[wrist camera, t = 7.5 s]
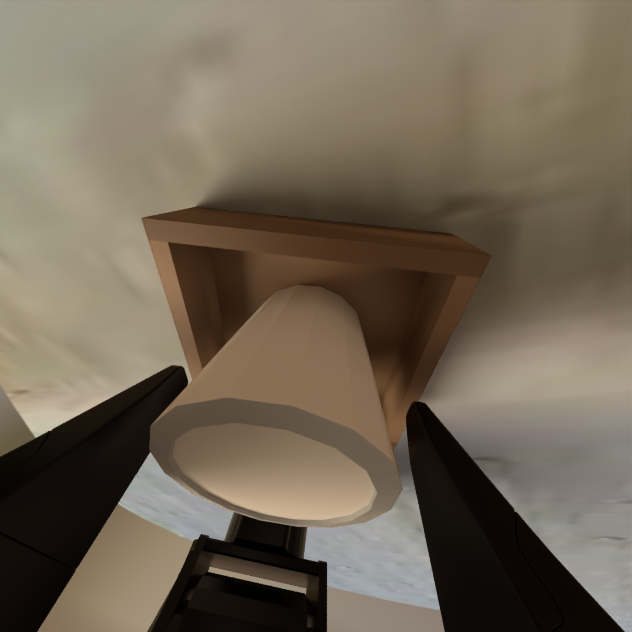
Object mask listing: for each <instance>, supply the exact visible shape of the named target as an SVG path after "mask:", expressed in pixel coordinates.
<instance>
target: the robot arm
mask: <svg viewBox="0 0 632 632" xmlns="http://www.w3.org/2000/svg"><path fill="white" fill-rule="evenodd" d="M187 385H188V379H187V376H186V373H185V370H184V368H183V367H182V366H176V365H172V366H169V367H167V368H166V369H164V370H162V371H160V372H158V373H156V374H154V375H152V376H151V377H149V378H147V379H145V380H143V381H141V382H139V383H138V384H136V385H134V386H132V387H130V388H128V389H126V390H125V391H123V392H121V393H119V394H117V395H115V396H113V397H111V398H110V399H108V400H106V401H104V402H102V403H100V404H98V405H97V406H95V407H93V408H91V409H89V410H87V411H85V412H84V413H82V414H80V415H78V416H76V417H74V418H72V419H70V420H69V421H67V422H65V423H63V424H61V425H59V426H57V427H56V428H54V429H52V431H48V432H46V433H44V434H42V435H41V436H39V437H37V438H35V439H33V440H31V441H29V442H27V443H25V444H24V445H22V446H20V447H18V448H16V449H14V450H12V451H10V452H8V453H6V454H4V455H2V456H0V632H37V631H38V629H39V628H40V626H41V625H42V623H43V622H44V620H45V619H46V617H47V615H48V614H49V612H50V610H51V609H52V607H53V606H54V604H55V603H56V601H57V599H58V597H59V596H60V595H61V593H62V592H63V590H64V588H65V587H66V585H67V583H68V582H69V580H70V579H71V577H72V576H73V574H74V573H75V571H76V568H77V567H78V566H79V564H80V563H81V561H82V559H83V558H84V556H85V555H86V553H87V552H88V550H89V548H90V547H91V545H92V544H93V542H94V540H95V539H96V537H97V536H98V534H99V532H100V531H101V529H102V528H103V526H104V525H105V523H106V521H107V520H108V518H109V517H110V515H111V513H112V512H113V510H114V509H115V507H116V505H117V504H118V502H119V501H120V499H121V498H122V496H123V494H124V493H125V491H126V490H127V488H128V486H129V485H130V483H131V482H132V480H133V479H134V477H135V475H136V474H137V472H138V471H139V469H140V467H141V466H142V464H143V463H144V461H145V459H146V458H147V456H148V455H149V453H150V450H149V444H150V426H151V425H152V424H153V423H154V422H155V420H156V419H157V418H158V417H159V416H160V415H161V414H162V413H163V412H164V411H165V410H166V408H167V407H168V406H169V405H170V404H171V403H172V402H173V401H174V400H175V399H176V398H177V397H178V395H179V394H180V393H181V392H182V391H183V390H184V389H185V388H186V387H187ZM406 427H407V437H408V447H409V457H410V464H411V470H412V475H413V480H414V485H415V489H416V494H417V499H418V504H419V509H420V514H421V518H422V523H423V528H424V533H425V538H426V543H427V548H428V552H429V557H430V562H431V567H432V572H433V577H434V581H435V586H436V591H437V596H438V601H439V606H440V611H441V615H442V620H443V625H444V630H445V632H625V631H624V630H623V629H622V628H621V627H620V626H619V625H618V624H617V623H616V622H615V621H614V620H613V619H612V618H611V616H610V615H609V614H608V613H607V612H606V611H605V610H604V609H603V608H602V607H601V606H600V605H599V604H598V603H597V601H596V600H595V599H594V598H593V597H592V596H591V595H590V594H589V593H588V592H587V591H586V590H585V589H584V588H583V586H582V585H581V584H580V583H579V582H578V581H577V580H576V579H575V578H574V577H573V576H572V574H571V573H570V572H569V571H568V570H567V569H566V568H565V567H564V566H563V565H562V564H561V562H560V561H559V560H558V559H557V558H556V557H555V556H554V555H553V554H552V553H551V551H550V550H549V549H548V548H547V547H546V546H545V544H544V543H543V542H542V541H541V540H540V539H539V537H538V536H537V535H536V534H535V533H534V532H533V531H532V529H531V528H530V527H529V526H528V525H527V524H526V522H525V521H524V520H523V519H522V518H521V516H520V515H519V514H518V513H517V512H515V511H514V508H513V507H512V506H511V505H510V503H509V502H508V501H507V500H506V499H505V497H504V496H503V495H502V494H501V493H500V492H499V490H498V489H497V488H496V487H495V486H494V484H493V483H492V482H491V481H490V480H489V478H488V477H487V476H486V475H485V474H484V473H483V471H482V470H481V469H480V468H479V467H478V465H477V464H476V463H475V462H474V461H473V459H472V458H471V457H470V456H469V455H468V453H467V452H466V451H465V450H464V449H463V448H462V446H461V445H460V444H459V443H458V442H457V440H456V439H455V438H454V437H453V436H452V434H451V433H450V432H449V431H448V430H447V428H446V427H445V426H444V425H443V424H442V423H441V421H440V420H439V419H438V418H437V417H436V415H435V414H434V413H433V412H432V411H431V409H430V408H429V407H428V406H427V405H426V404H425V403H423V402H417V401H413V402H412V403H411V405H410V408H409V410H408V412H407V414H406ZM306 533H307V527H297V526H291V525H285V524H279V523H274V522H268V521H262V520H258V519H255V518H252V517H248V516H245V515H242V514H239V513H236V512H234V514H233V516H232V519H231V522H230V525H229V528H228V531H227V534H226V537H225V540H224V541H221V540H217V539H212V538H209V536H208V535H203V534H201V535H200V537H199V539H197V540H194V541H193V544H192V546H191V548H190V551H189V554H188V556H187V558H186V560H185V563H184V565H183V567H182V569H181V572H180V573H179V575H178V577H177V580H176V581H175V583H174V585H173V587H172V589H171V590H170V592H169V594H168V596H167V598H166V599H165V601H164V603H163V605H162V606H161V608H160V610H159V612H158V614H157V616H156V617H155V619H154V621H153V623H152V624H151V626H150V628H149V630H148V632H327V562H324V561H320V560H319V561H318V562H315V561H311V560H306V559H304V550H305V542H306ZM209 567H214V568H218V569H223V570H227V571H232V572H236V573H241V574H245V575H250V576H255V577H259V578H263V579H268V580H272V581H277V582H281V583H285V584H290V585H294V586H299V587H303V588H307V590H306V595H305V594H304V593H300V592H295V591H291V590H286V589H282V588H277V587H273V586H269V585H264V584H259V583H255V582H251V581H246V580H242V579H237V578H233V577H228V576H224V575H220V574H215V573H211V572H208V570H209Z"/></svg>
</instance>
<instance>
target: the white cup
mask: <svg viewBox="0 0 632 632" xmlns="http://www.w3.org/2000/svg"><path fill="white" fill-rule="evenodd" d="M149 450H150V452H151V453H152V455H153V456H154V458H155V459H156V461H157V462H158V464H159V465H160V467H161V468H162V469H163V471H164V472H165V474H167V475H168V476H169V477H171V478H172V479H173V480H175V481H176V482H177V483H179V484H180V485H181V486H183V487H184V488H185V489H187V490H188V491H189V492H191V493H192V494H194V495H196V496H199V497H201V498H203V499H205V500H207V501H209V502H211V503H213V504H215V505H217V506H219V507H221V508H223V509H226V510H229V511H232V512H236V513H239V514H242V515H245V516H248V517H252V518H255V519H258V520H262V521H268V522H274V523H279V524H285V525H291V526H297V527H339V526H345V525H352V524H358V523H364V522H367V521H369V520H371V519H373V518H375V517H377V516H379V515H381V514H383V513H385V512H387V511H389V510H391V509H392V507H393V505H394V503H395V501H396V500H397V498H398V496H399V494H400V492H401V491H402V489H403V488H402V485H401V481H400V477H399V473H398V469H397V465H396V461H395V457H394V453H393V449H392V445H391V441H390V437H389V433H388V429H387V426H386V422H385V418H384V414H383V410H382V406H381V402H380V398H379V394H378V390H377V386H376V382H375V378H374V374H373V371H372V367H371V363H370V359H369V355H368V351H367V347H366V343H365V339H364V335H363V331H362V328H361V325H360V322H359V318H358V315H357V312H356V311H355V310H354V309H353V308H352V307H351V306H350V305H349V304H348V302H347V301H346V300H345V299H344V298H343V297H342V296H340V295H338V294H336V293H334V292H331V291H329V290H327V289H325V288H323V287H319V286H308V285H295V286H292V287H289V288H285V289H282V290H279V291H277V292H276V293H274V294H273V295H272V296H271V297H270V298H269V299H268V300H267V301H265V302H264V303H263V304H262V305H261V306H260V307H259V309H258V310H257V311H256V312H255V313H254V314H253V315H252V316H251V317H250V318H249V319H248V320H247V322H246V323H245V324H244V325H243V326H242V327H241V328H240V329H239V330H238V331H237V332H236V334H235V335H234V336H233V337H232V338H231V339H230V340H229V341H228V342H227V343H226V344H225V345H224V347H223V348H222V349H221V350H220V351H219V352H218V353H217V354H216V355H215V356H214V357H213V359H212V360H211V361H210V362H209V363H208V364H207V365H206V366H205V367H204V368H203V369H202V370H201V372H200V373H199V374H198V375H197V376H196V377H195V378H194V379H193V380H192V381H191V382H190V384H189V385H188V386H187V387H186V388H185V389H184V390H183V391H182V392H181V393H180V394H179V395H178V397H177V398H176V399H175V400H174V401H173V402H172V403H171V404H170V405H169V406H168V407H167V408H166V410H165V411H164V412H163V413H162V414H161V415H160V416H159V417H158V418H157V419H156V420H155V422H154V423H153V424H152V425H151V426H150V444H149Z"/></svg>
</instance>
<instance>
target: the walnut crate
mask: <svg viewBox="0 0 632 632" xmlns="http://www.w3.org/2000/svg"><path fill="white" fill-rule="evenodd" d="M141 219H142V222H143V225H144V228H145V231H146V234H147V238H148V241H149V244H150V247H151V250H152V253H153V257H154V260H155V263H156V266H157V269H158V272H159V275H160V279H161V282H162V285H163V288H164V291H165V294H166V298H167V301H168V304H169V307H170V310H171V313H172V317H173V320H174V323H175V326H176V329H177V332H178V336H179V339H180V342H181V345H182V348H183V351H184V354H185V358H186V361H187V364H188V367H189V370H190V373H191V377H192V380H193V379H194V378H195V377H196V376H197V375H198V374H199V373H200V372H201V370H202V369H203V368H204V367H205V366H206V365H207V364H208V363H209V362H210V361H211V360H212V359H213V357H214V356H215V355H216V354H217V353H218V352H219V351H220V350H221V349H222V348H223V347H224V345H225V344H226V343H227V342H228V341H229V340H230V339H231V338H232V337H233V336H234V335H235V334H236V332H237V331H238V330H239V329H240V328H241V327H242V326H243V325H244V324H245V323H246V322H247V320H248V319H249V318H250V317H251V316H252V315H253V314H254V313H255V312H256V311H257V310H258V309H259V307H260V306H261V305H262V304H263V303H264V302H265V301H267V300H268V299H269V298H270V297H271V296H272V295H273V294H274V293H276V292H277V291H279V290H282V289H285V288H289V287H292V286H295V285H308V286H319V287H323V288H325V289H327V290H329V291H331V292H334V293H336V294H338V295H340V296H342V297H343V298H344V299H345V300H346V301H347V302H348V304H349V305H350V306H351V307H352V308H353V309H354V310H355V311H356V312H357V315H358V318H359V322H360V325H361V328H362V331H363V335H364V339H365V343H366V347H367V351H368V355H369V359H370V363H371V367H372V371H373V374H374V378H375V382H376V386H377V390H378V394H379V398H380V402H381V406H382V410H383V414H384V418H385V422H386V426H387V429H388V433H389V437H390V441H391V445H392V449H393V450H394V449H395V447H396V445H397V443H398V441H399V439H400V437H401V435H402V433H403V431H404V429H405V427H406V414H407V412H408V410H409V408H410V405H411V403H412V402H413V401H417V402H418V401H419V399H420V397H421V395H422V393H423V391H424V389H425V387H426V385H427V383H428V381H429V379H430V377H431V375H432V373H433V371H434V369H435V367H436V365H437V363H438V361H439V359H440V357H441V355H442V353H443V351H444V349H445V347H446V345H447V343H448V341H449V339H450V337H451V335H452V333H453V331H454V329H455V327H456V325H457V323H458V321H459V319H460V317H461V315H462V313H463V311H464V309H465V307H466V305H467V303H468V301H469V299H470V297H471V295H472V293H473V291H474V289H475V287H476V285H477V283H478V281H479V279H480V277H481V275H482V273H483V271H484V269H485V267H486V265H487V263H488V261H489V259H490V257H491V255H489V254H487V253H485V252H484V251H482V250H480V249H478V248H476V247H475V246H473V245H471V244H469V243H467V242H466V241H464V240H462V239H460V238H458V237H457V236H455V235H453V234H449V233H439V232H429V231H420V230H410V229H400V228H391V227H381V226H371V225H362V224H352V223H342V222H333V221H323V220H313V219H304V218H294V217H284V216H275V215H265V214H255V213H246V212H236V211H226V210H217V209H207V208H197V207H193V208H188V209H183V210H178V211H173V212H168V213H163V214H158V215H153V216H149V217H144V218H141Z"/></svg>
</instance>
